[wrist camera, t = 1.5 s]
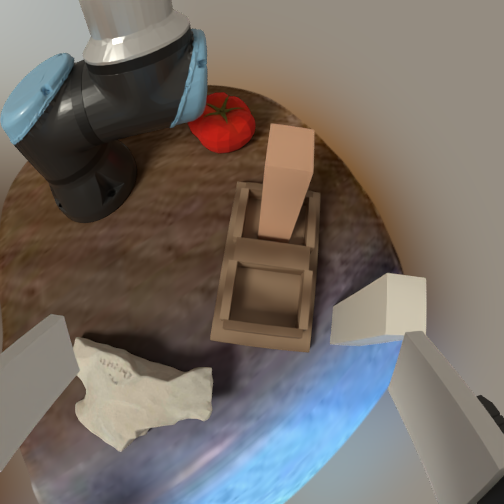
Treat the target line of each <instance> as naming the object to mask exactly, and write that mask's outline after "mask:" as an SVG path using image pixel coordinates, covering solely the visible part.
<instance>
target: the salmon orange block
mask: <svg viewBox="0 0 504 504" xmlns="http://www.w3.org/2000/svg"><path fill="white" fill-rule="evenodd" d="M313 168H314V130H312V129H306V128H300V127H293V126H286V125H279V124H271V127H270V134H269V141H268V148H267V155H266V162H265V171H264V181H263V191H262V202H261V212H260V222H259V232H258V239H260V240H267V241H274V242H282V243H289V240H290V237H291V234H292V232H293V229H294V226H295V223H296V221H297V218H298V215H299V212H300V209H301V207H302V204H303V201H304V198H305V195H306V192H307V189H308V187H309V184H310V181H311V178H312V175H313Z"/></svg>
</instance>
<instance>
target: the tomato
mask: <svg viewBox="0 0 504 504" xmlns="http://www.w3.org/2000/svg"><path fill="white" fill-rule="evenodd" d="M188 125H189V127H190V130H191V132H192V133H193V134H194V135H195V136H196V137H198V139H199V140H200V142H201V143H202V145H203V146H205V147H206V148H207V149H209V150H210V151H212V152H216V153H229V152H232V151H235V150H238V149H240V148H241V147H243V146H244V145H245V144H247V143H248V142H249V141H250V139H251V138H252V136H253V134H254V132H255V119H254V117H253V116H252V115H251V112H250V110H249V108H248V106H247V105H246V104H245V103H244V102H243V101H242V100H241V99H239V98H238V97H235V96H228V95H227V94H226V93H224V92H222V93H213V94H211V95H208V96H207V99H206V106H205V110H204V112H203V114H202V115H201V116H200V117H198V119H196V120H194V121H191V122H188Z"/></svg>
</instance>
